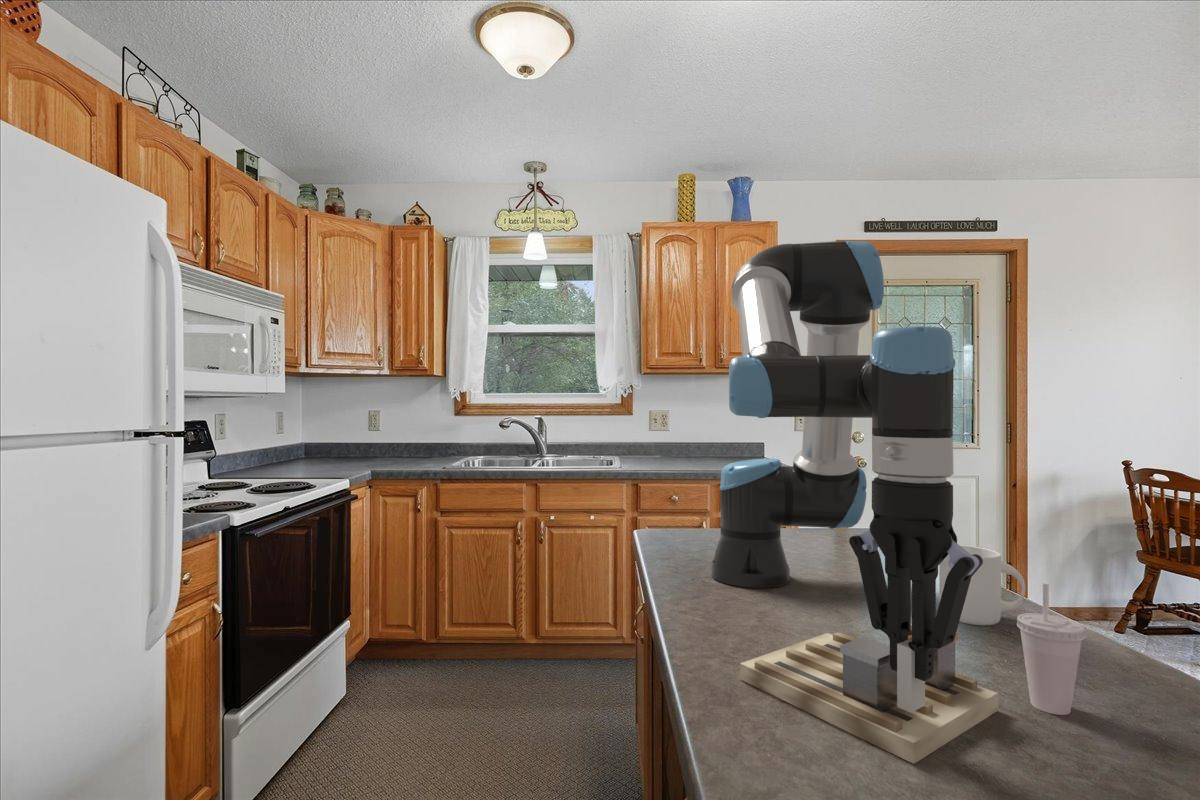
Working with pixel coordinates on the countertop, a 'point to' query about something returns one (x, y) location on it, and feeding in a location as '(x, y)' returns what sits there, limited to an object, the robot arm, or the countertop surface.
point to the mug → (984, 588)
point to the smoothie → (1050, 657)
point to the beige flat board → (817, 688)
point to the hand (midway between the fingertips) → (911, 705)
